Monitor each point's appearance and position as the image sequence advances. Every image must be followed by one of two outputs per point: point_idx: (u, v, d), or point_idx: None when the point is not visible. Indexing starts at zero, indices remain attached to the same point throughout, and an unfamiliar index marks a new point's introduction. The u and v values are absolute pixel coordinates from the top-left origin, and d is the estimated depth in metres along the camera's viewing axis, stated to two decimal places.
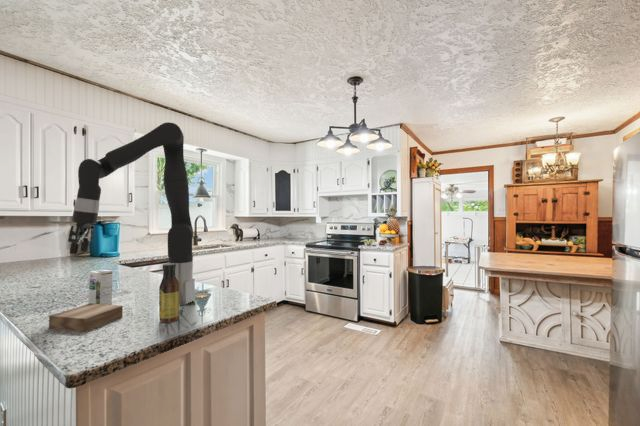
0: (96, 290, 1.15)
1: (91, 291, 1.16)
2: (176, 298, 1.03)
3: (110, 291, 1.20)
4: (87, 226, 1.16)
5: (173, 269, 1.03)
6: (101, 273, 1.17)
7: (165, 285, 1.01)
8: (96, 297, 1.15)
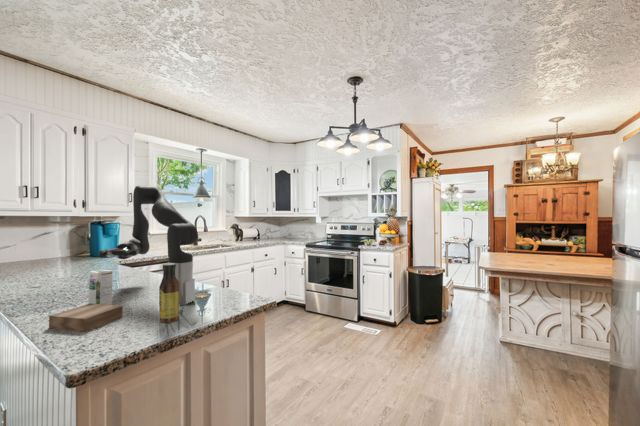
0: (96, 290, 1.15)
1: (91, 291, 1.16)
2: (176, 298, 1.03)
3: (110, 291, 1.20)
4: None
5: (173, 269, 1.03)
6: (101, 273, 1.17)
7: (165, 285, 1.01)
8: (96, 297, 1.15)
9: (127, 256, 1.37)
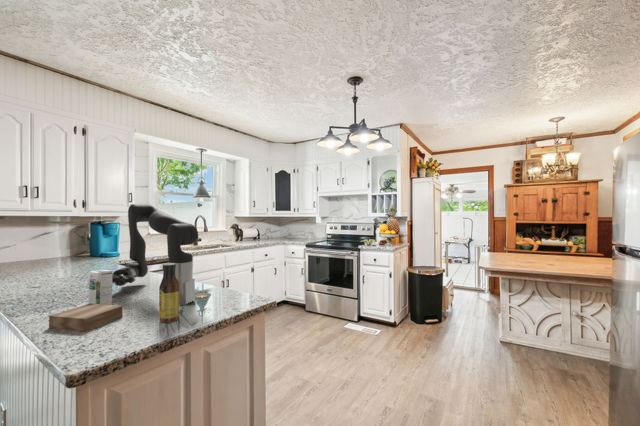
0: (96, 290, 1.15)
1: (91, 291, 1.16)
2: (176, 298, 1.03)
3: (110, 291, 1.20)
4: None
5: (173, 269, 1.03)
6: (101, 273, 1.17)
7: (165, 285, 1.01)
8: (96, 297, 1.15)
9: None
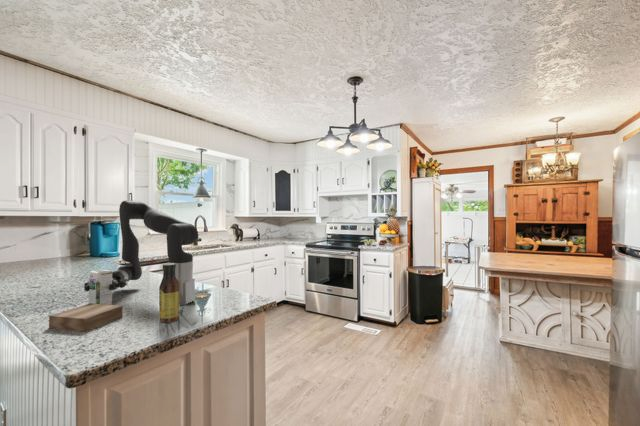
0: (96, 290, 1.15)
1: (91, 291, 1.16)
2: (176, 298, 1.03)
3: (110, 291, 1.20)
4: None
5: (173, 269, 1.03)
6: (101, 273, 1.16)
7: (165, 285, 1.01)
8: (96, 297, 1.15)
9: None
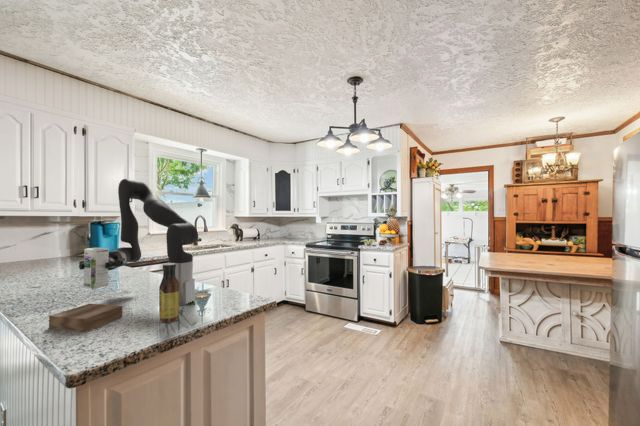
0: (91, 268, 1.09)
1: (86, 269, 1.10)
2: (176, 298, 1.03)
3: (106, 270, 1.13)
4: None
5: (173, 269, 1.03)
6: (96, 250, 1.10)
7: (165, 285, 1.01)
8: (91, 276, 1.09)
9: (112, 267, 1.17)
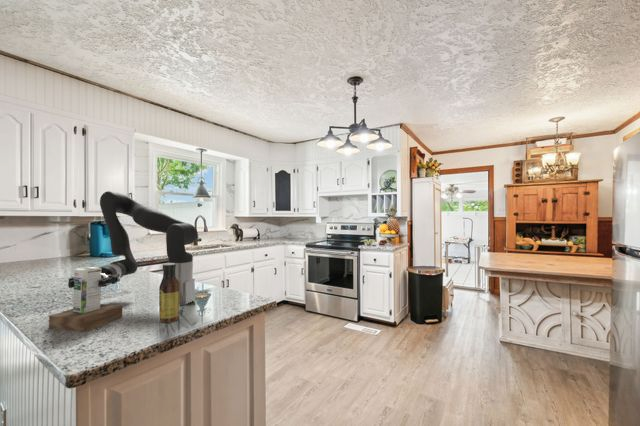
0: (82, 290, 0.99)
1: (76, 292, 1.00)
2: (176, 298, 1.03)
3: (98, 292, 1.03)
4: None
5: (173, 269, 1.03)
6: (88, 271, 1.00)
7: (165, 285, 1.01)
8: (81, 299, 0.99)
9: None
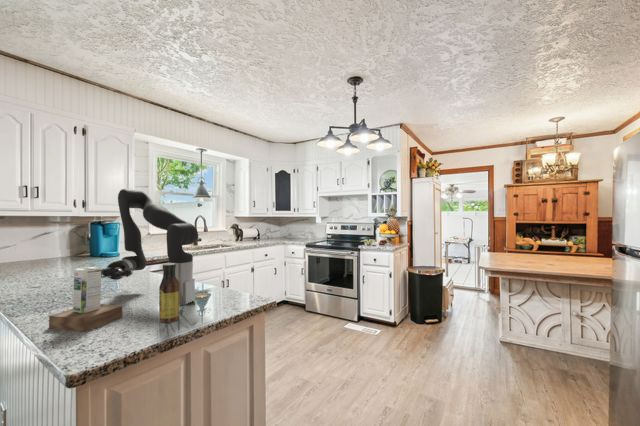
0: (81, 290, 0.99)
1: (76, 292, 1.00)
2: (176, 298, 1.03)
3: (98, 292, 1.03)
4: None
5: (173, 269, 1.03)
6: (87, 271, 1.00)
7: (165, 285, 1.01)
8: (81, 299, 0.99)
9: None
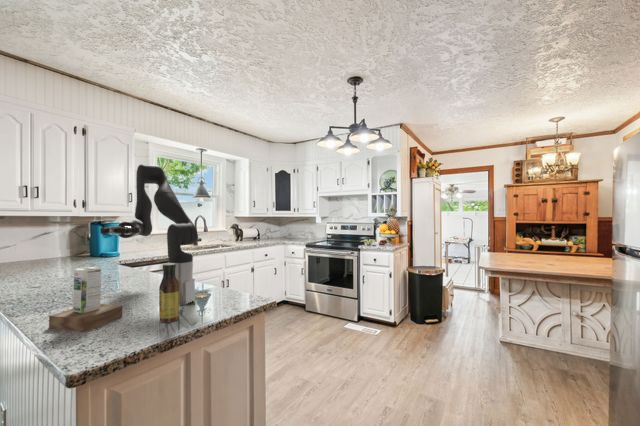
0: (81, 290, 0.99)
1: (76, 292, 1.00)
2: (176, 298, 1.03)
3: (98, 292, 1.03)
4: (125, 227, 1.35)
5: (173, 269, 1.03)
6: (87, 271, 1.00)
7: (165, 285, 1.01)
8: (81, 299, 0.99)
9: (129, 234, 1.32)
